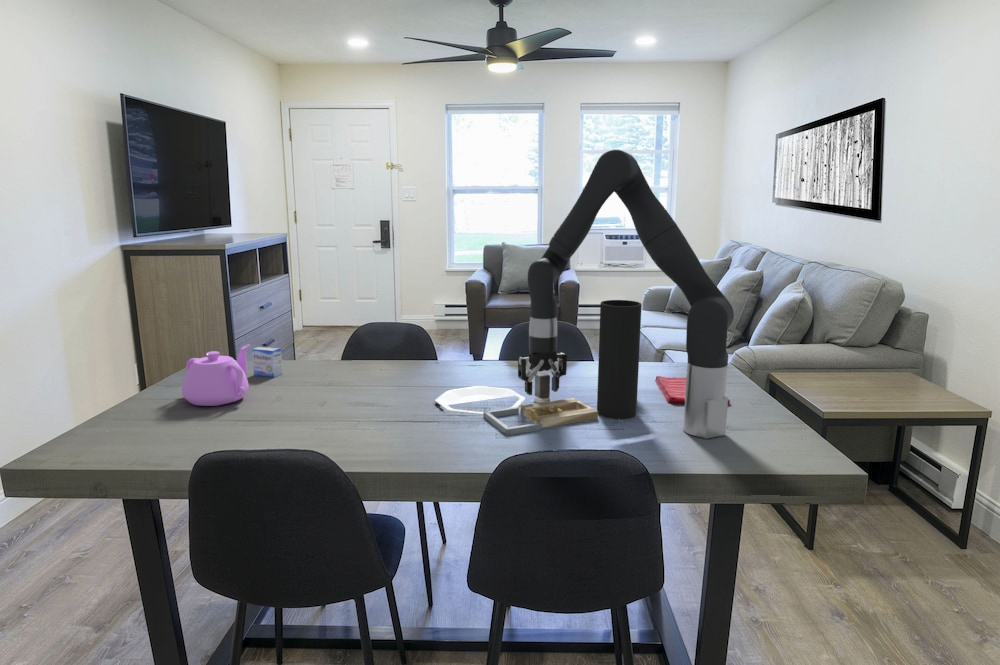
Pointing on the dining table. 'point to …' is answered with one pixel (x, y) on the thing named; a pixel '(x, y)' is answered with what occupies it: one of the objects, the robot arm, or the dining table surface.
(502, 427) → the tray
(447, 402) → the plate
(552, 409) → the yellow block
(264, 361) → the medicine box
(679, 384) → the dish towel
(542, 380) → the stepped metal block
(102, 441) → the dining table surface
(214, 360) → the teapot
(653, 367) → the dining table surface
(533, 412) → the yellow rectangular block
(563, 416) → the slot board
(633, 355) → the vase
